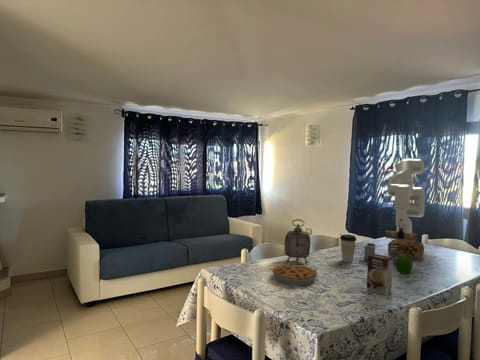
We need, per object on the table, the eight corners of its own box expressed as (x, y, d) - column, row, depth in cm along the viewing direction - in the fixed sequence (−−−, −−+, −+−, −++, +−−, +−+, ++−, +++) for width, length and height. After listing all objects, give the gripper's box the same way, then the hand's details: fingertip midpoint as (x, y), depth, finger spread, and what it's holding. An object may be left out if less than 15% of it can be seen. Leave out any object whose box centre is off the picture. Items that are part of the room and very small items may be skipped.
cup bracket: (365, 257, 208) (366, 242, 207) (374, 258, 206) (375, 243, 205) (364, 260, 200) (364, 245, 200) (373, 261, 198) (373, 246, 197)
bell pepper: (410, 270, 182) (411, 252, 181) (413, 275, 174) (414, 256, 173) (393, 269, 184) (394, 251, 184) (396, 274, 176) (397, 255, 176)
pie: (265, 274, 174) (265, 264, 173) (302, 270, 181) (302, 261, 181) (285, 289, 153) (285, 278, 153) (325, 283, 161) (326, 273, 161)
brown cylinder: (385, 238, 196) (385, 231, 196) (385, 237, 200) (385, 229, 200) (416, 242, 190) (416, 234, 189) (415, 240, 194) (416, 232, 193)
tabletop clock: (284, 262, 194) (285, 219, 192) (285, 258, 202) (286, 217, 201) (309, 264, 190) (310, 221, 189) (310, 260, 199) (311, 218, 198)
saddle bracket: (390, 260, 202) (391, 245, 201) (396, 261, 200) (396, 246, 200) (390, 264, 194) (390, 248, 194) (395, 264, 193) (396, 249, 192)
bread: (424, 257, 209) (424, 241, 209) (417, 260, 202) (417, 244, 202) (394, 251, 223) (394, 236, 223) (386, 254, 216) (387, 238, 216)
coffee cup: (353, 258, 204) (354, 234, 203) (357, 263, 194) (358, 237, 193) (337, 258, 205) (338, 233, 204) (340, 262, 195) (341, 237, 194)
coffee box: (366, 290, 153) (367, 255, 152) (372, 286, 158) (373, 252, 157) (386, 296, 147) (387, 259, 146) (392, 292, 151) (393, 256, 150)
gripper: (394, 204, 203) (393, 234, 204) (394, 208, 188) (393, 240, 189) (408, 205, 200) (407, 235, 201) (409, 208, 185) (408, 241, 186)
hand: (400, 237), depth 195 cm, fingers closed on brown cylinder, 4 cm apart
